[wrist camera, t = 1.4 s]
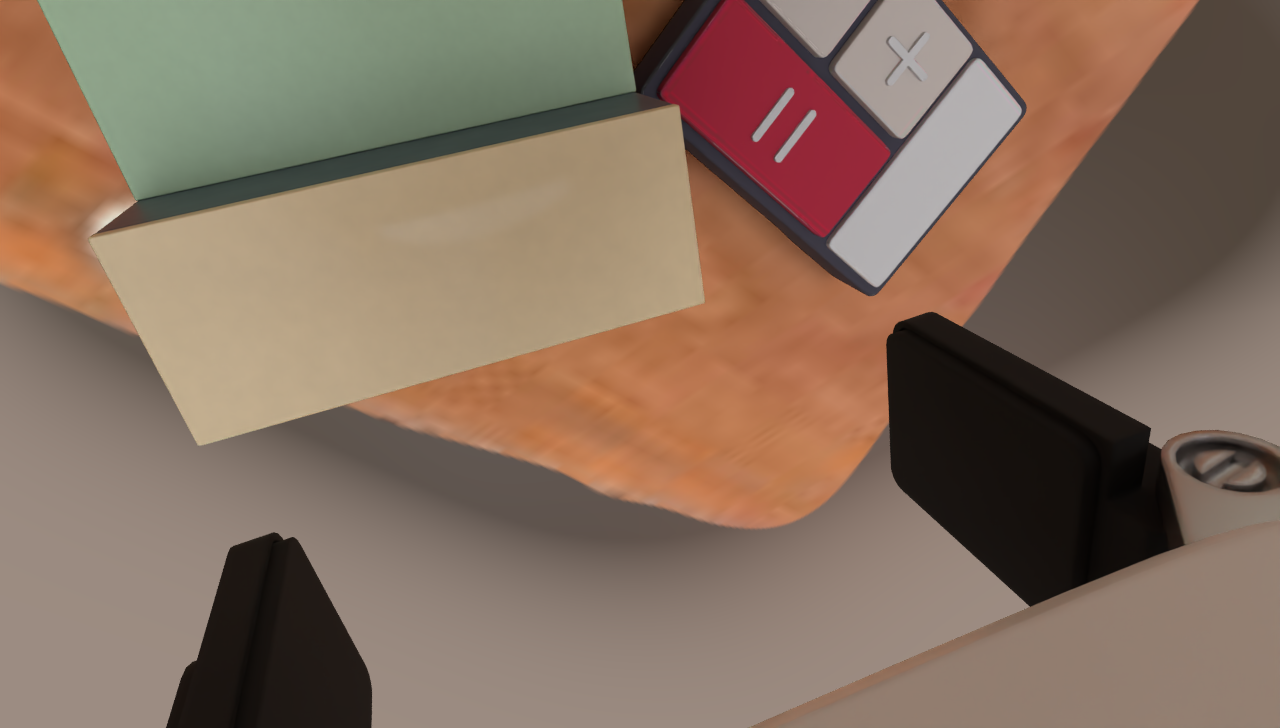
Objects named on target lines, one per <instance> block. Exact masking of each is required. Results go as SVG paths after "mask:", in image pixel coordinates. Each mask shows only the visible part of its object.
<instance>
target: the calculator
mask: <svg viewBox="0 0 1280 728" xmlns="http://www.w3.org/2000/svg"><path fill="white" fill-rule="evenodd" d="M633 73H634V80H635V86H636V91H635V92H636V93H639V94H642V95H645V96H649V97H652V98H655V99H658V100H661V101H665V102H668V103H671V104H676V105H679V108H680V115H681V123H682V131H683V138H684V146H685V149H686V150H688V151H689V152H690V153H691V154H692V155H693V156H695V157H696V158H697V159H698V160H699V161H700V162H702V163H703V164H704V165H705V166H706V167H707V168H709V169H710V170H711V171H712V172H713V173H714V174H716V175H717V176H718V177H719V178H720V179H722V180H723V181H724V182H725V183H726V184H727V185H729V186H730V187H731V188H732V189H733V190H734V191H736V192H737V193H738V194H739V195H740V196H741V197H743V198H744V199H745V200H746V201H747V202H748V203H750V204H751V205H752V206H753V207H754V208H756V209H757V210H758V211H759V212H760V213H761V214H763V215H764V216H765V217H766V218H767V219H768V220H770V221H771V222H772V223H773V224H774V225H775V226H777V227H778V228H779V229H780V230H781V231H782V232H783V233H784V234H785V235H786V236H787V237H788V238H789V239H790V240H791V241H792V242H793V243H795V244H796V245H797V246H798V247H799V248H800V249H802V250H803V251H804V252H805V253H806V254H807V255H809V256H810V257H811V258H812V259H813V260H815V261H816V262H817V263H818V264H819V265H820V266H822V267H823V268H824V269H825V270H826V271H827V272H829V273H830V274H831V275H832V276H834V277H836V278H837V279H839V280H841V281H842V282H844V283H846V284H848V285H849V286H851V287H853V288H855V289H857V290H858V291H860V292H862V293H864V294H866V295H868V296H874V295H876V294H877V293H878V292H879V291H880V290H881V289H882V288H883V287H884V285H885V284H886V283H887V282H888V281H889V279H890V278H891V277H892V276H893V274H894V273H895V272H896V271H897V270H898V268H899V267H900V266H901V265H902V264H903V262H904V261H905V260H906V259H907V257H908V256H909V255H910V254H911V253H912V251H913V250H914V249H915V248H916V247H917V245H918V244H919V243H920V242H921V240H922V239H923V238H924V237H925V236H926V234H927V233H928V232H929V231H930V230H931V228H932V227H933V226H934V225H935V223H936V222H937V221H938V220H939V219H940V217H941V216H942V215H943V214H944V213H945V211H946V210H947V209H948V208H949V206H950V205H951V204H952V203H953V202H954V200H955V199H956V198H957V197H958V196H959V194H960V193H961V192H962V191H963V189H964V188H965V187H966V186H967V185H968V183H969V182H970V181H971V180H972V179H973V177H974V176H975V175H976V174H977V172H978V171H979V170H980V169H981V168H982V166H983V165H984V164H985V163H986V162H987V160H988V159H989V158H990V157H991V155H992V154H993V153H994V152H995V151H996V149H997V148H998V147H999V146H1000V145H1001V143H1002V142H1003V141H1004V140H1005V138H1006V137H1007V136H1008V135H1009V134H1010V132H1011V131H1012V130H1013V129H1014V128H1015V126H1016V125H1017V124H1018V123H1019V121H1020V120H1021V119H1022V118H1023V116H1024V115H1025V113H1026V104H1025V102H1024V100H1023V99H1022V98H1021V97H1020V95H1019V94H1018V93H1017V92H1016V91H1015V89H1014V88H1013V87H1012V86H1011V84H1010V83H1009V82H1008V81H1007V80H1006V78H1005V77H1004V76H1003V75H1002V73H1001V72H1000V71H999V70H998V68H997V67H996V66H995V65H994V64H993V62H992V61H991V60H990V59H989V57H988V56H987V55H986V54H985V53H984V51H983V50H982V49H981V48H980V46H979V45H978V44H977V43H976V42H975V40H974V39H973V38H972V37H971V35H970V34H969V33H968V32H967V30H966V29H965V28H964V27H963V26H962V24H961V23H960V22H959V21H958V19H957V18H956V17H955V16H954V15H953V13H952V12H951V11H950V10H949V8H948V7H947V6H946V5H945V4H944V2H943V1H942V0H685V1H684V2H683V3H682V5H681V6H680V8H679V9H678V10H677V12H676V13H675V15H674V16H673V17H672V19H671V20H670V22H669V23H668V24H667V26H666V27H665V29H664V30H663V31H662V33H661V34H660V36H659V37H658V38H657V40H656V41H655V43H654V44H653V45H652V47H651V48H650V50H649V51H648V52H647V54H646V55H645V57H644V58H643V59H642V61H641V62H640V64H639V65H638V66H637V68H636V69H635V71H634V72H633Z"/></svg>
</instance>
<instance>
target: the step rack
mask: <svg viewBox="0 0 1280 728" xmlns="http://www.w3.org/2000/svg"><path fill="white" fill-rule="evenodd" d="M37 1H38V3H39V5H40V7H41V9H42V11H43V13H44V15H45V17H46V19H47V21H48V23H49V25H50V27H51V29H52V31H53V33H54V35H55V37H56V39H57V41H58V43H59V45H60V48H61V50H62V52H63V54H64V56H65V58H66V60H67V62H68V64H69V66H70V68H71V70H72V72H73V74H74V76H75V78H76V80H77V82H78V84H79V86H80V88H81V90H82V92H83V94H84V96H85V98H86V100H87V102H88V105H89V107H90V109H91V111H92V113H93V115H94V117H95V119H96V121H97V123H98V125H99V127H100V129H101V131H102V133H103V135H104V137H105V139H106V141H107V143H108V145H109V147H110V149H111V151H112V153H113V155H114V157H115V159H116V162H117V164H118V166H119V168H120V170H121V172H122V174H123V176H124V178H125V180H126V182H127V184H128V186H129V188H130V190H131V192H132V194H133V196H134V198H135V200H136V201H138V202H136V203H135V204H134V205H132V206H131V207H130V208H129V209H127V210H126V211H125V212H123V213H122V214H121V215H119V216H118V217H117V218H115V219H114V220H113V221H111V222H110V223H109V224H108V225H106V226H105V227H104V228H102V229H101V230H100V231H98V232H97V233H96V234H93V235H92V236H91V237H89V238H88V241H89V243H90V245H91V247H92V248H93V250H94V252H95V254H96V256H97V258H98V260H99V262H100V263H101V265H102V267H103V269H104V271H105V273H106V275H107V276H108V278H109V280H110V282H111V284H112V286H113V288H114V290H115V291H116V293H117V295H118V297H119V299H120V301H121V303H122V304H123V306H124V308H125V310H126V312H127V314H128V316H129V318H130V319H131V321H132V323H133V325H134V327H135V329H136V331H137V332H138V334H139V336H140V338H141V340H142V342H143V344H144V345H145V347H146V349H147V351H148V353H149V355H150V357H151V359H152V360H153V362H154V364H155V366H156V368H157V369H158V372H159V374H160V375H161V377H162V379H163V381H164V383H165V384H166V387H167V388H168V390H169V392H170V394H171V396H172V398H173V400H174V402H175V403H176V405H177V407H178V409H179V411H180V413H181V415H182V416H183V418H184V420H185V422H186V424H187V426H188V428H189V430H190V431H191V433H192V435H193V437H194V439H195V441H196V442H197V444H198V446H201V445H205V444H209V443H212V442H216V441H219V440H223V439H226V438H229V437H233V436H237V435H240V434H244V433H247V432H251V431H254V430H258V429H261V428H265V427H268V426H272V425H276V424H279V423H283V422H286V421H290V420H293V419H297V418H300V417H304V416H308V415H311V414H314V413H318V412H321V411H325V410H328V409H332V408H336V407H339V406H343V405H346V404H350V403H353V402H357V401H360V400H364V399H368V398H371V397H375V396H378V395H382V394H385V393H389V392H392V391H396V390H399V389H403V388H406V387H410V386H413V385H417V384H421V383H424V382H428V381H431V380H435V379H438V378H442V377H445V376H449V375H452V374H456V373H459V372H463V371H466V370H470V369H474V368H477V367H481V366H484V365H488V364H491V363H495V362H498V361H502V360H505V359H509V358H512V357H516V356H519V355H523V354H527V353H530V352H534V351H537V350H541V349H544V348H548V347H551V346H555V345H558V344H562V343H565V342H569V341H572V340H576V339H579V338H583V337H587V336H590V335H594V334H597V333H601V332H604V331H608V330H611V329H615V328H618V327H622V326H625V325H629V324H632V323H636V322H640V321H643V320H647V319H650V318H654V317H657V316H661V315H664V314H668V313H671V312H675V311H678V310H682V309H685V308H689V307H693V306H696V305H700V304H703V303H705V298H704V290H703V283H702V275H701V267H700V260H699V252H698V245H697V237H696V229H695V222H694V214H693V207H692V199H691V191H690V184H689V176H688V169H687V161H686V153H685V146H684V138H683V131H682V123H681V115H680V108H679V105H676V104H671V103H668V102H665V101H661V100H658V99H655V98H652V97H649V96H645V95H642V94H639V93H636V92H635V91H636V86H635V80H634V73H633V67H632V60H631V54H630V48H629V41H628V35H627V28H626V22H625V16H624V9H623V3H622V0H37Z"/></svg>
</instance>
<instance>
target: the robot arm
mask: <svg viewBox="0 0 1280 728" xmlns="http://www.w3.org/2000/svg"><path fill="white" fill-rule="evenodd" d="M886 347H887V374H888V400H889V427H890V453H891V470H892V473H893V477H894V479H895V481H896V483H897V484H898V486H899V487H900V488H901V489H902V490H903V491H904V492H905V493H906V494H907V495H908V496H909V497H910V498H911V499H913V500H914V501H915V502H916V503H917V504H918V505H919V506H920V507H921V508H922V509H923V510H925V511H926V512H927V513H928V514H929V515H930V516H931V517H932V518H933V519H934V520H936V521H937V522H938V523H939V524H940V525H941V526H942V527H943V528H944V529H945V530H947V531H948V532H949V533H950V534H951V535H952V536H953V537H954V538H955V539H957V540H958V541H959V542H960V543H961V544H962V545H963V546H964V547H965V548H966V549H967V550H968V551H970V552H971V553H972V554H973V555H974V556H975V557H976V558H977V559H978V560H980V561H981V562H982V563H983V564H984V565H985V566H986V567H987V568H988V569H989V570H990V571H992V572H993V573H994V574H995V575H996V576H997V577H998V578H999V579H1000V580H1001V581H1002V582H1004V583H1005V584H1006V585H1007V586H1008V587H1009V588H1010V589H1011V590H1012V591H1014V592H1015V593H1016V594H1017V595H1018V596H1019V597H1020V598H1021V599H1022V600H1023V601H1024V602H1026V603H1027V604H1028V605H1029V606H1030V607H1029V608H1027V609H1024V610H1022V611H1020V612H1017V613H1015V614H1013V615H1010V616H1008V617H1005V618H1003V619H1001V620H998V621H996V622H994V623H991V624H989V625H987V626H984V627H982V628H980V629H977V630H975V631H972V632H970V633H968V634H966V635H963V636H961V637H958V638H956V639H954V640H951V641H949V642H947V643H944V644H942V645H940V646H937V647H935V648H932V649H930V650H928V651H926V652H923V653H921V654H918V655H916V656H914V657H911V658H909V659H907V660H904V661H902V662H900V663H897V664H895V665H893V666H891V667H888V668H886V669H883V670H881V671H879V672H877V673H874V674H872V675H869V676H867V677H865V678H863V679H860V680H858V681H856V682H853V683H851V684H849V685H847V686H844V687H842V688H839V689H837V690H835V691H832V692H830V693H828V694H825V695H823V696H821V697H819V698H816V699H814V700H812V701H809V702H807V703H805V704H802V705H800V706H798V707H796V708H793V709H791V710H789V711H786V712H784V713H782V714H779V715H777V716H775V717H772V718H770V719H768V720H765V721H763V722H761V723H758V724H756V725H754V726H751V727H749V728H1280V447H1279V446H1277V445H1275V444H1272V443H1269V442H1267V441H1265V440H1263V439H1260V438H1256V437H1253V436H1249V435H1245V434H1241V433H1236V432H1228V431H1220V430H1203V431H1202V430H1201V431H1193V432H1188V433H1183V434H1179V435H1178V436H1175V437H1173V438H1171V439H1170V440H1168V441H1167V442H1166V444H1165V445H1164V446H1163V447H1162V449H1160V448H1158V447H1156V446H1154V445H1153V444H1151V443H1149V437H1150V431H1151V428H1149V427H1148V426H1146V425H1144V424H1142V423H1140V422H1139V421H1137V420H1135V419H1133V418H1131V417H1129V416H1127V415H1125V414H1123V413H1122V412H1120V411H1118V410H1116V409H1114V408H1112V407H1111V406H1109V405H1107V404H1105V403H1103V402H1101V401H1099V400H1097V399H1096V398H1094V397H1092V396H1090V395H1088V394H1086V393H1084V392H1083V391H1081V390H1079V389H1077V388H1075V387H1073V386H1071V385H1069V384H1067V383H1066V382H1064V381H1062V380H1060V379H1058V378H1056V377H1054V376H1052V375H1051V374H1049V373H1047V372H1045V371H1043V370H1041V369H1039V368H1038V367H1036V366H1034V365H1032V364H1030V363H1028V362H1026V361H1024V360H1023V359H1021V358H1019V357H1017V356H1015V355H1013V354H1012V353H1010V352H1008V351H1006V350H1004V349H1002V348H1000V347H999V346H997V345H995V344H993V343H991V342H989V341H987V340H985V339H984V338H981V337H980V336H978V335H976V334H974V333H972V332H970V331H968V330H967V329H965V328H963V327H961V326H959V325H957V324H956V323H954V322H952V321H950V320H948V319H946V318H944V317H942V316H941V315H939V314H937V313H934V312H928V313H925V314H922V315H919V316H916V317H913V318H910V319H907V320H904V321H901V322H898V323H897V324H896V325H895V327H894V330H893V334H890V335H889V336H888V338H887V344H886ZM371 720H372V687H371V681H370V676H369V673H368V670H367V668H366V665H365V663H364V662H363V660H362V658H361V656H360V654H359V652H358V650H357V649H356V647H355V645H354V643H353V641H352V639H351V637H350V636H349V634H348V632H347V630H346V628H345V626H344V624H343V623H342V621H341V619H340V617H339V615H338V613H337V612H336V610H335V608H334V606H333V604H332V602H331V600H330V599H329V597H328V595H327V593H326V591H325V590H324V587H323V585H322V584H321V582H320V580H319V578H318V576H317V574H316V572H315V571H314V569H313V567H312V565H311V563H310V561H309V560H308V558H307V556H306V554H305V552H304V550H303V548H302V547H301V545H300V543H299V542H298V540H297V539H295V538H294V537H291V538H288V539H286V540H283V538H282V537H281V536H280V535H279V534H278V533H271V534H268V535H265V536H262V537H259V538H256V539H253V540H250V541H247V542H244V543H241V544H238V545H235V546H233V547H231V548H230V550H229V552H228V555H227V558H226V562H225V565H224V569H223V572H222V576H221V579H220V582H219V586H218V589H217V593H216V596H215V600H214V603H213V606H212V610H211V613H210V617H209V620H208V624H207V627H206V631H205V634H204V638H203V641H202V644H201V648H200V651H199V655H198V658H197V661H194V662H192V663H191V664H190V665H189V666H187V667H186V669H185V671H184V674H183V676H182V678H181V681H180V684H179V687H178V690H177V694H176V697H175V700H174V704H173V707H172V710H171V713H170V717H169V720H168V723H167V727H166V728H371Z"/></svg>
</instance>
